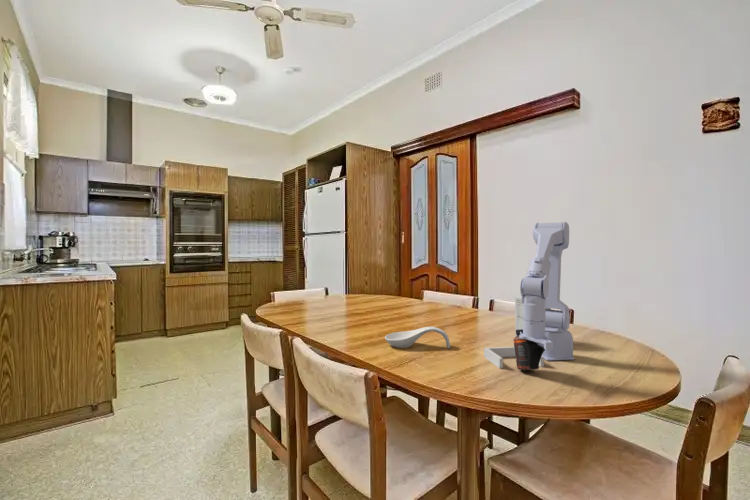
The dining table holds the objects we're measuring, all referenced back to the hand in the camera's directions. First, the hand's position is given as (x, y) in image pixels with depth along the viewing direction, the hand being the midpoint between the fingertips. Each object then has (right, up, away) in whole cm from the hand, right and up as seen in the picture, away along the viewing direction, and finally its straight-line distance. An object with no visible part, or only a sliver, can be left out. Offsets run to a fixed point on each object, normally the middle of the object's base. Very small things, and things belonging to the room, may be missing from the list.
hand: (533, 368), depth 98 cm
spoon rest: (-29, -2, +30) cm, 42 cm away
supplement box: (+16, -2, +35) cm, 38 cm away
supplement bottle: (0, -2, +3) cm, 3 cm away
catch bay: (-1, -2, +12) cm, 12 cm away
